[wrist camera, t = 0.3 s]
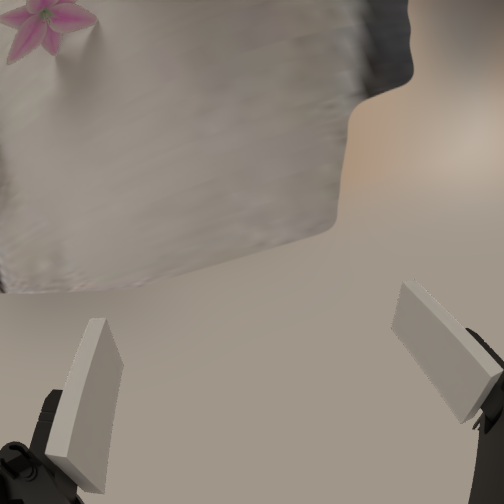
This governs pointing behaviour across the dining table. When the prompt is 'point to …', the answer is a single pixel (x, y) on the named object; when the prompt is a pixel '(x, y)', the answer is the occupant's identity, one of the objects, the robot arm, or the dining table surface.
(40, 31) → the lily
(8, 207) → the dining table surface
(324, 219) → the dining table surface
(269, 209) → the dining table surface
